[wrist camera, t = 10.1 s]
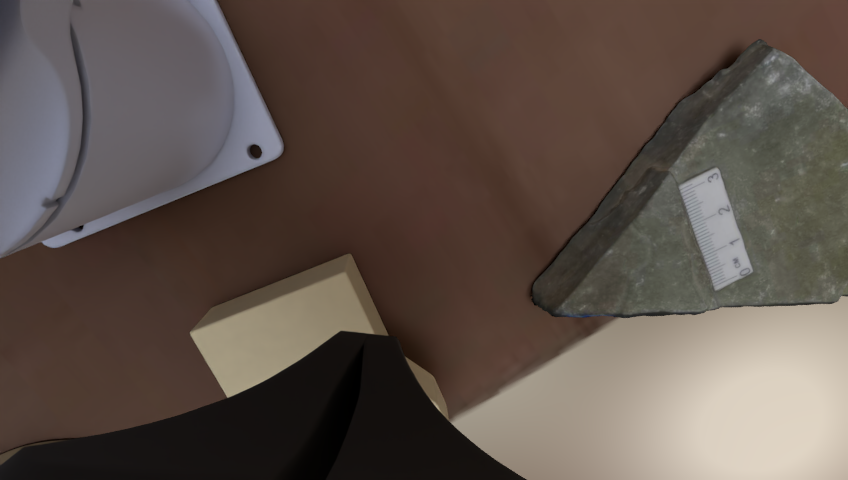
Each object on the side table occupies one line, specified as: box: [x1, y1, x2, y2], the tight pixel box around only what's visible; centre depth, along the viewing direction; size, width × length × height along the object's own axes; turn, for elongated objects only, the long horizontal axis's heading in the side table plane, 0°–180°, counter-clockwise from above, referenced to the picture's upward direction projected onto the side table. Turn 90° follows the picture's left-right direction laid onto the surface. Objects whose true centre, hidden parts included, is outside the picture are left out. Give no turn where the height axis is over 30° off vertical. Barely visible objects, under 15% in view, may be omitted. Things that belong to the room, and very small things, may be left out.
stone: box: [531, 39, 848, 318], centre depth 18 cm, size 13×10×2 cm
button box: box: [190, 254, 449, 421], centre depth 18 cm, size 7×8×4 cm
